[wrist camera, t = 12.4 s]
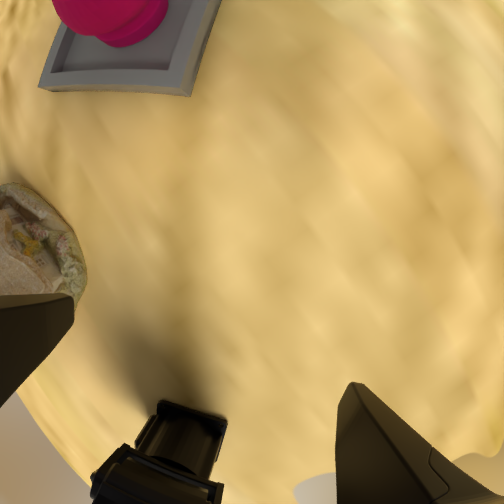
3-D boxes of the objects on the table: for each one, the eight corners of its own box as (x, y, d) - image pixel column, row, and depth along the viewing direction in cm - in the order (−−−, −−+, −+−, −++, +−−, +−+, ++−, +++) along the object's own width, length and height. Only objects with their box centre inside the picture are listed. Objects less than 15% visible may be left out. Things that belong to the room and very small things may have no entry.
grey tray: (238, -42, 16) (234, -57, 14) (190, 96, 19) (179, 87, 17) (103, -29, 17) (92, -39, 15) (53, 91, 21) (37, 87, 18)
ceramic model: (111, 274, 23) (25, 321, 13) (60, 343, 26) (-5, 391, 16) (28, 162, 22) (-56, 164, 13) (-9, 243, 25) (-77, 263, 15)
